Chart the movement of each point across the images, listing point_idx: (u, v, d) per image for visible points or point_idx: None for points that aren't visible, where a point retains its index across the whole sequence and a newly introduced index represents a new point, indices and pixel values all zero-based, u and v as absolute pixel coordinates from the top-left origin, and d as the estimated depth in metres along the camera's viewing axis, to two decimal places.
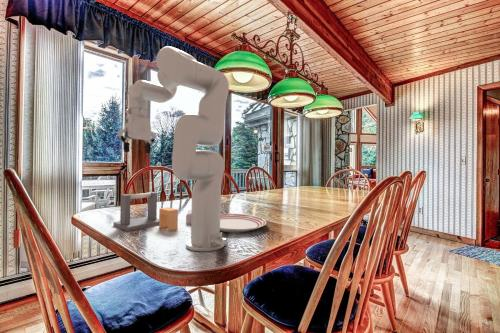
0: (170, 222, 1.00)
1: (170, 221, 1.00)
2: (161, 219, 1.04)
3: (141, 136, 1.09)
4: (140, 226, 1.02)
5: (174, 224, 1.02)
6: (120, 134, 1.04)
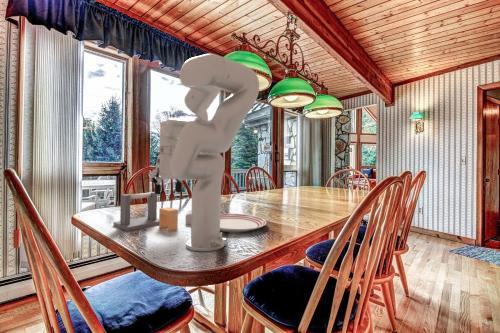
0: (170, 222, 1.00)
1: (170, 221, 1.00)
2: (161, 219, 1.04)
3: (173, 176, 1.02)
4: (140, 226, 1.02)
5: (174, 224, 1.02)
6: (152, 176, 0.97)
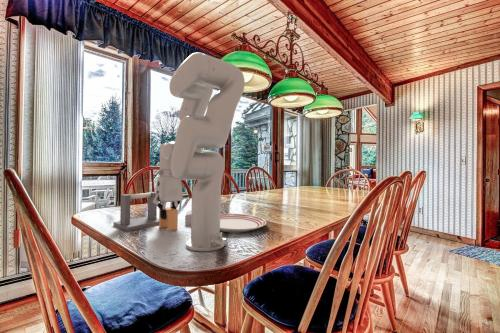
0: (170, 222, 1.00)
1: (170, 221, 1.00)
2: (161, 219, 1.04)
3: (173, 198, 1.02)
4: (140, 226, 1.02)
5: (174, 224, 1.02)
6: (157, 203, 0.98)
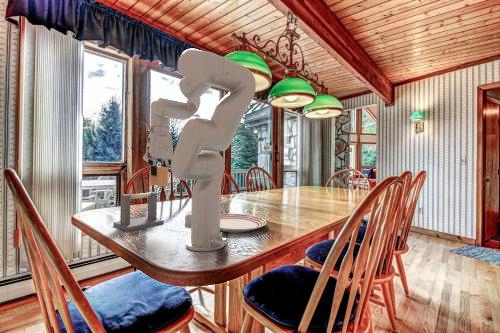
0: (160, 178, 1.02)
1: (160, 177, 1.02)
2: (152, 176, 1.05)
3: (163, 156, 1.03)
4: (140, 226, 1.02)
5: (164, 181, 1.03)
6: (147, 158, 1.00)
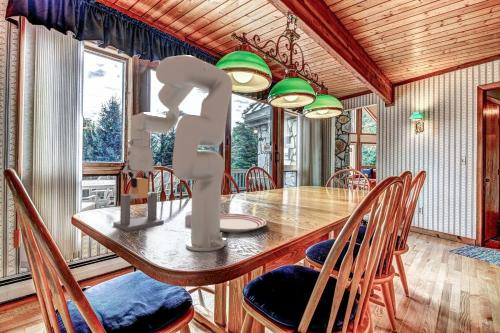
0: (140, 190, 1.05)
1: (140, 189, 1.05)
2: (132, 188, 1.08)
3: (143, 168, 1.06)
4: (140, 226, 1.02)
5: (144, 193, 1.06)
6: (127, 171, 1.03)
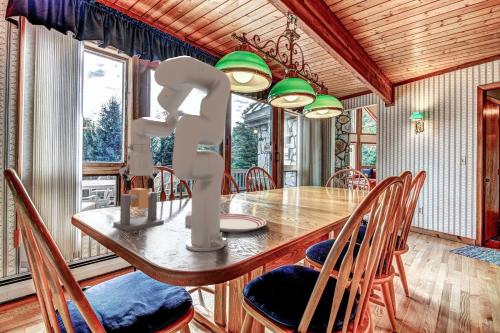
0: (140, 201, 1.05)
1: (140, 200, 1.05)
2: (132, 199, 1.08)
3: (143, 173, 1.06)
4: (140, 226, 1.02)
5: (145, 203, 1.06)
6: (122, 172, 1.01)
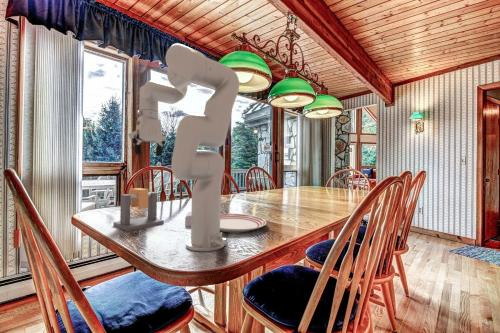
0: (140, 201, 1.05)
1: (140, 200, 1.05)
2: (132, 199, 1.08)
3: (152, 138, 1.07)
4: (140, 226, 1.02)
5: (145, 203, 1.06)
6: (132, 136, 1.02)
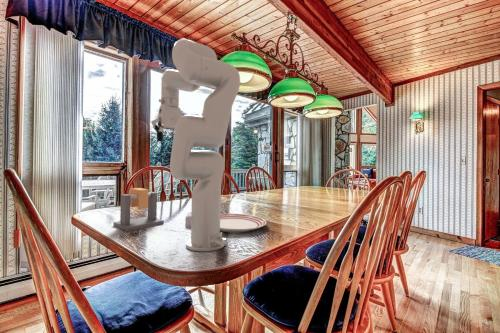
0: (140, 201, 1.05)
1: (140, 200, 1.05)
2: None
3: (173, 126, 1.11)
4: (140, 226, 1.02)
5: (144, 203, 1.06)
6: (155, 123, 1.06)
